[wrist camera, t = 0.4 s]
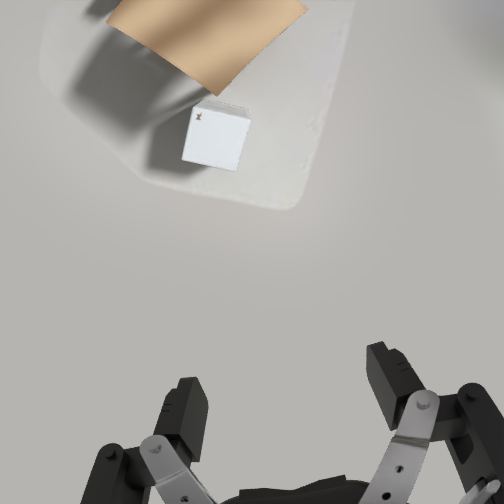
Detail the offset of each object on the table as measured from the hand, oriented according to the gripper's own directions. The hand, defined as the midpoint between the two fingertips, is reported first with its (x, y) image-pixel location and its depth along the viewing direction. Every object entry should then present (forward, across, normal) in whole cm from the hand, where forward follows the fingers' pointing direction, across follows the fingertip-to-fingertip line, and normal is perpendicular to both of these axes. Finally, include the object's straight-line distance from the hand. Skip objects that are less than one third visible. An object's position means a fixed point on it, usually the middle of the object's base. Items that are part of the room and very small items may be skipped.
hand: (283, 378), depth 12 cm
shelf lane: (+22, 0, -27) cm, 35 cm away
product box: (+26, +2, -15) cm, 30 cm away
